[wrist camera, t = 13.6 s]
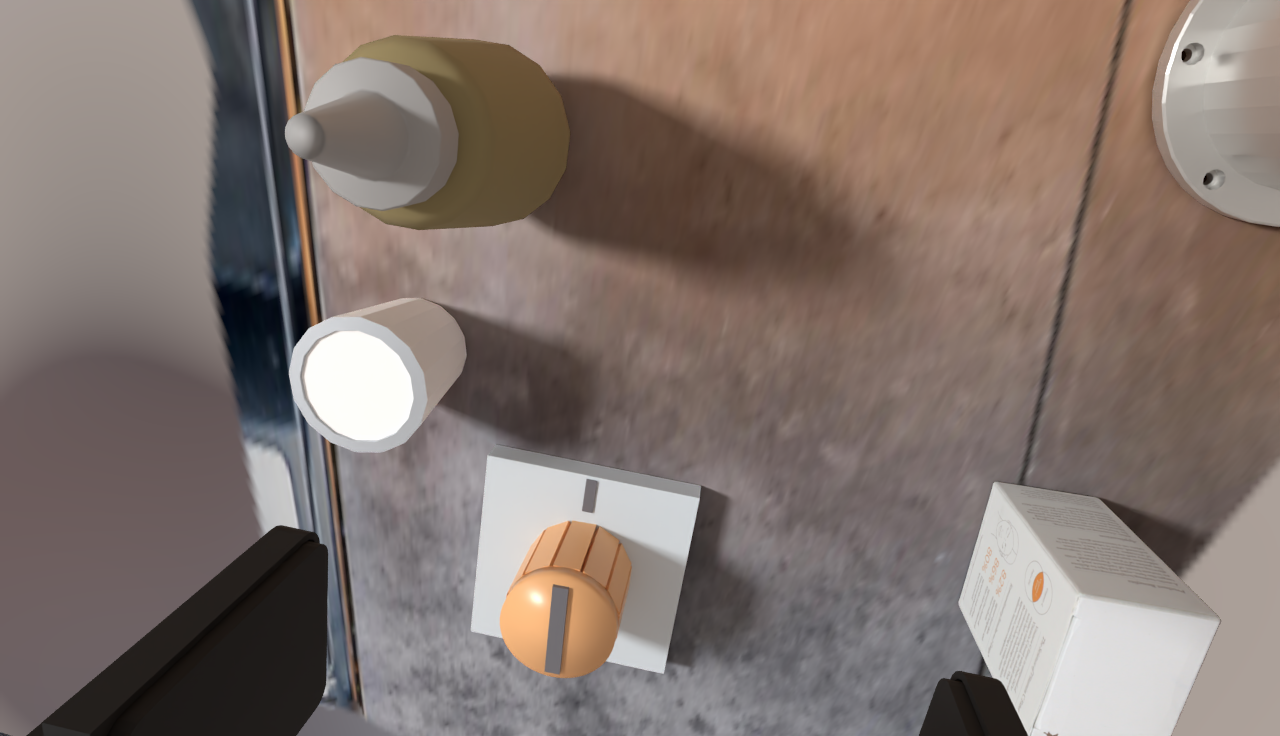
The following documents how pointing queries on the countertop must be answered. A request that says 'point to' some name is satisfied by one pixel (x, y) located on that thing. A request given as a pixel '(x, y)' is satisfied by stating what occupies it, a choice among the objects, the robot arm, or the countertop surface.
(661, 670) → the knob base plate
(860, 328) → the countertop surface
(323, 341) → the white cup
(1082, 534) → the small box
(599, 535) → the cap
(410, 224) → the squeeze bottle
